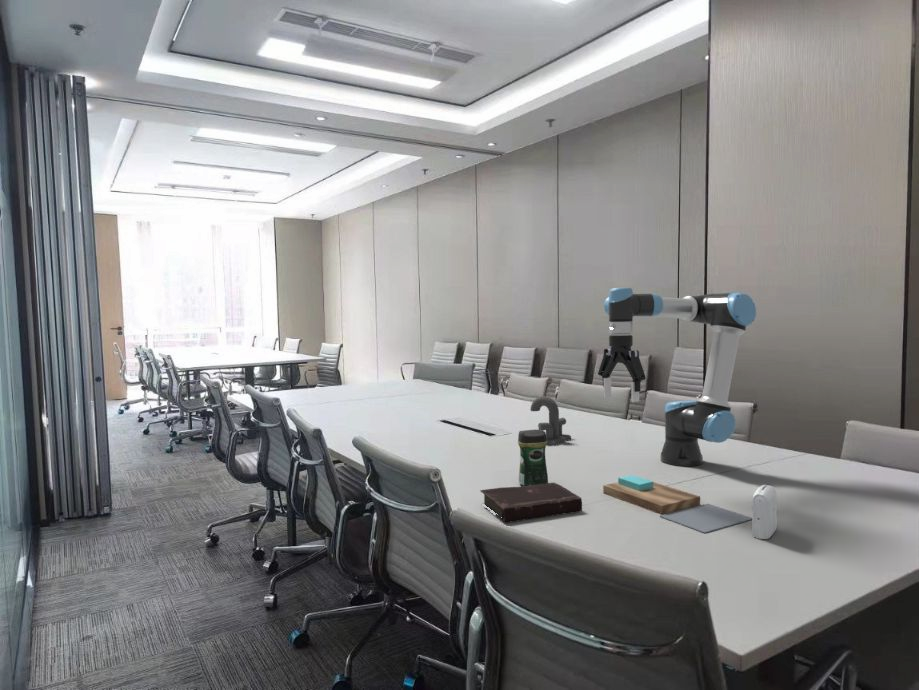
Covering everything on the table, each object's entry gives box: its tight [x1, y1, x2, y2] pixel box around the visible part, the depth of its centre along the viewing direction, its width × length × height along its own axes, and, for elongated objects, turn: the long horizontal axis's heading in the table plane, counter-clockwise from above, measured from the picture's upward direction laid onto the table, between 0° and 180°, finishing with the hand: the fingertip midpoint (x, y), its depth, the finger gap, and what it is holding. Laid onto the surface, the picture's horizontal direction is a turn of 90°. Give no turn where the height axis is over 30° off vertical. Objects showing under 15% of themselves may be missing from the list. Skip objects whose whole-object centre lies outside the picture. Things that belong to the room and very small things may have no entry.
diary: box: [479, 482, 583, 523], centre depth 179 cm, size 19×25×5 cm
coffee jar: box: [517, 429, 549, 487], centre depth 202 cm, size 10×8×19 cm
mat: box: [659, 503, 752, 534], centre depth 167 cm, size 20×15×1 cm
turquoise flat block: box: [617, 474, 654, 491], centre depth 190 cm, size 6×9×2 cm, turn 29°
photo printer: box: [751, 484, 778, 540], centre depth 155 cm, size 10×4×12 cm, turn 140°
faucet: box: [529, 395, 572, 446], centre depth 271 cm, size 18×16×20 cm
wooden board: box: [602, 481, 701, 515], centre depth 185 cm, size 16×24×2 cm, turn 29°
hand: (621, 399), depth 200 cm, fingers open, 12 cm apart
